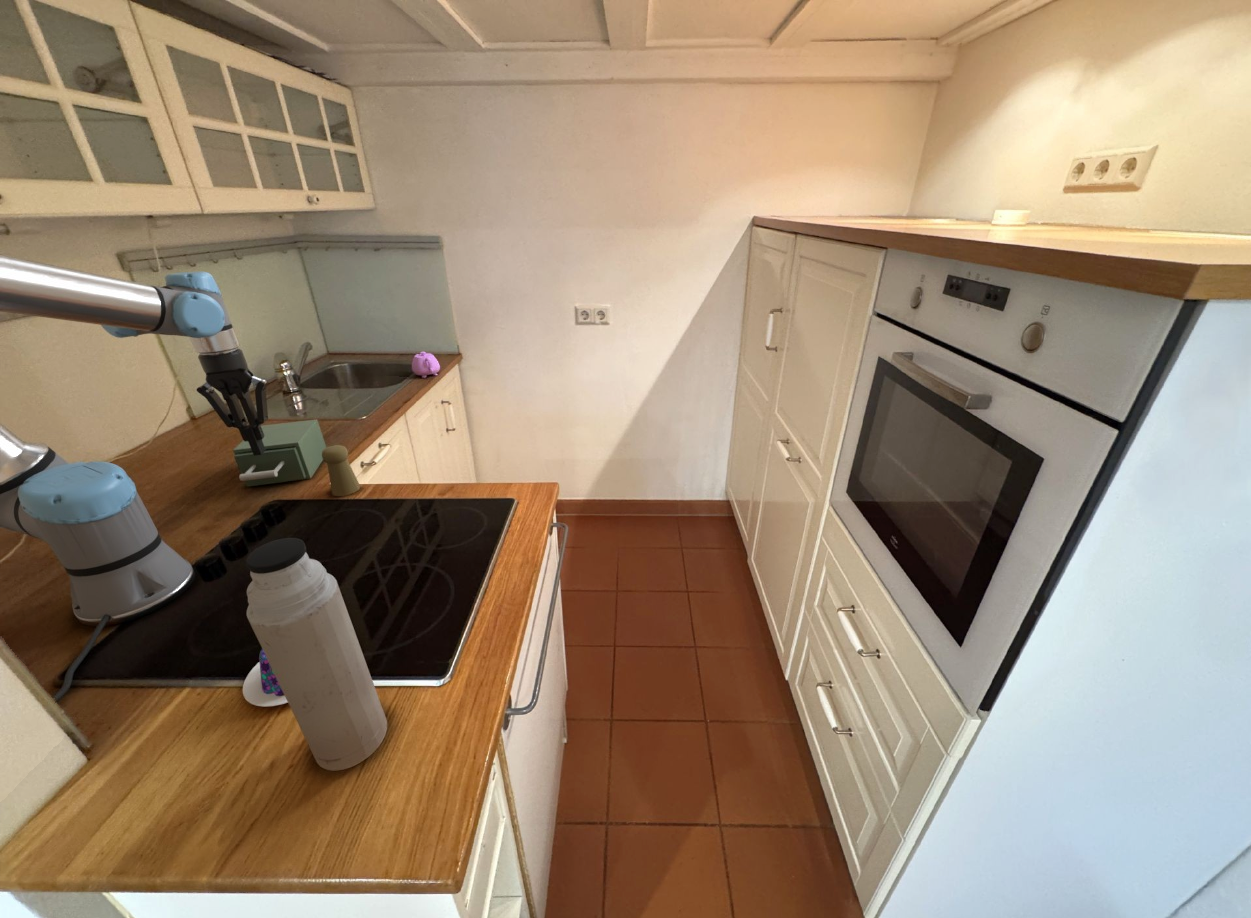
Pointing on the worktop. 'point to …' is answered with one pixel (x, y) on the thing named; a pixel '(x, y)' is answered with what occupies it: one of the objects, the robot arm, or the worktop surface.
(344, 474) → the olive tapered upright piece
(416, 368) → the pink rounded figure
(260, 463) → the drawer
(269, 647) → the thermos bottle
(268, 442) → the cabinet
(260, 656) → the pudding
